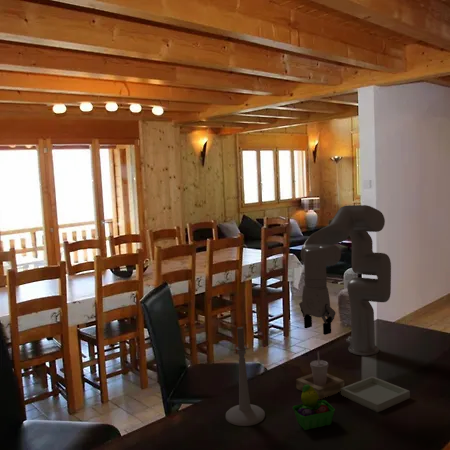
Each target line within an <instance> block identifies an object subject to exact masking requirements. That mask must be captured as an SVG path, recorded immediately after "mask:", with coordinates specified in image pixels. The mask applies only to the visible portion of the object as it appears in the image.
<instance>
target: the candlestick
mask: <svg viewBox="0 0 450 450" xmlns="http://www.w3.org/2000/svg"><path fill="white" fill-rule="evenodd" d="M236 336H237V346H236V347H235V350H237V355H238V356H239V357H238V395H239V396H238V398H239V399H238V403H239V404H237V405H234V406H232V407H230V408H229V409H228V410H227V411H226V412H225V420H226V422H228V423H229V424H232V425H234V426H239V427H247V426H248V427H249V426H254V425H257V424H259V423H261V422H263V420H265V417H266V413H265V409H263V408H262V407H260V406H259V405H255V404H251V399H250V394H249V393H250V392H249V385H248V384H249V383H248V375H247V365H246V358H245V354H246V352H247V351H246V350H247V349H248V347H247V346H245V339H244V338H245V336H244V327H243V326H238V327H237V328H236Z"/></svg>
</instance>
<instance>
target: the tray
mask: <svg viewBox="0 0 450 450" xmlns="http://www.w3.org/2000/svg"><path fill="white" fill-rule="evenodd" d="M340 389H341V392H340V396H341V395H342V397H343V396H344V397H343V398H345V397H346V398H345V399H347V398H348V400H350V401H352V402H354V403H357V404H358V405H360V406H363V407H364V408H367V409H368V410H371V411H373V412H375V413H379V412H382V411H384V410H386V409H388V408H390V407H393V406H396V405H398V404H400V403H402V402H404V401H406V400H408V399H410V398H411V397H410V396H411V393H410V390H409V389H406V388H403V387H400V386H399V385H396V384H393V383H390V382H388V381H386V380H383V379H380V378H378V377H375V376H373V375H371V376H369V377H367V378H364V379H362V380H358V381H355V382H354V383H351V384H348V385H346V386H345V387H343V388H340Z"/></svg>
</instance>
